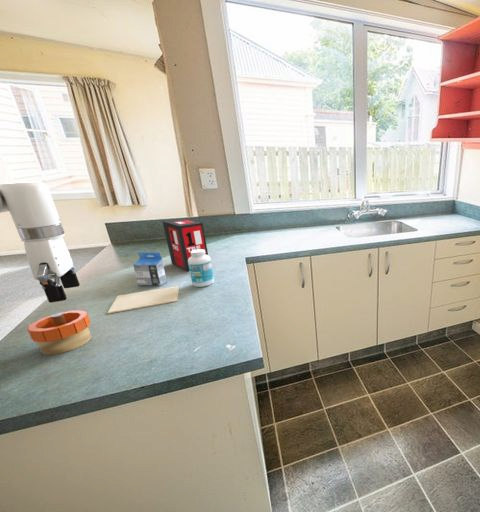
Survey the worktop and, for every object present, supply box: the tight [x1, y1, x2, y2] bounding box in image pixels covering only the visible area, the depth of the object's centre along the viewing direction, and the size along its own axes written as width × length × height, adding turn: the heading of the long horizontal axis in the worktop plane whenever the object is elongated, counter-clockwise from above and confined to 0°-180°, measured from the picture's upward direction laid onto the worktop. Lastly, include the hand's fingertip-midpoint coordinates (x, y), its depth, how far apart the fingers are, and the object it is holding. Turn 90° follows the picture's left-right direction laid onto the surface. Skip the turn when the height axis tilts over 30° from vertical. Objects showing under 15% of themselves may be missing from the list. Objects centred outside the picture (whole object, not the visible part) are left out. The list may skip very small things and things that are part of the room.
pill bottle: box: [188, 249, 215, 288], centre depth 113 cm, size 8×7×14 cm
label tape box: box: [133, 251, 168, 286], centre depth 112 cm, size 9×4×12 cm, turn 89°
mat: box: [106, 285, 180, 315], centre depth 102 cm, size 18×14×1 cm
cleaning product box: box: [162, 217, 209, 272], centre depth 132 cm, size 16×9×20 cm, turn 56°
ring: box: [26, 310, 92, 343], centre depth 76 cm, size 10×10×3 cm
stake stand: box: [36, 312, 92, 356], centre depth 76 cm, size 9×9×8 cm
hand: (65, 293), depth 80 cm, fingers open, 9 cm apart
